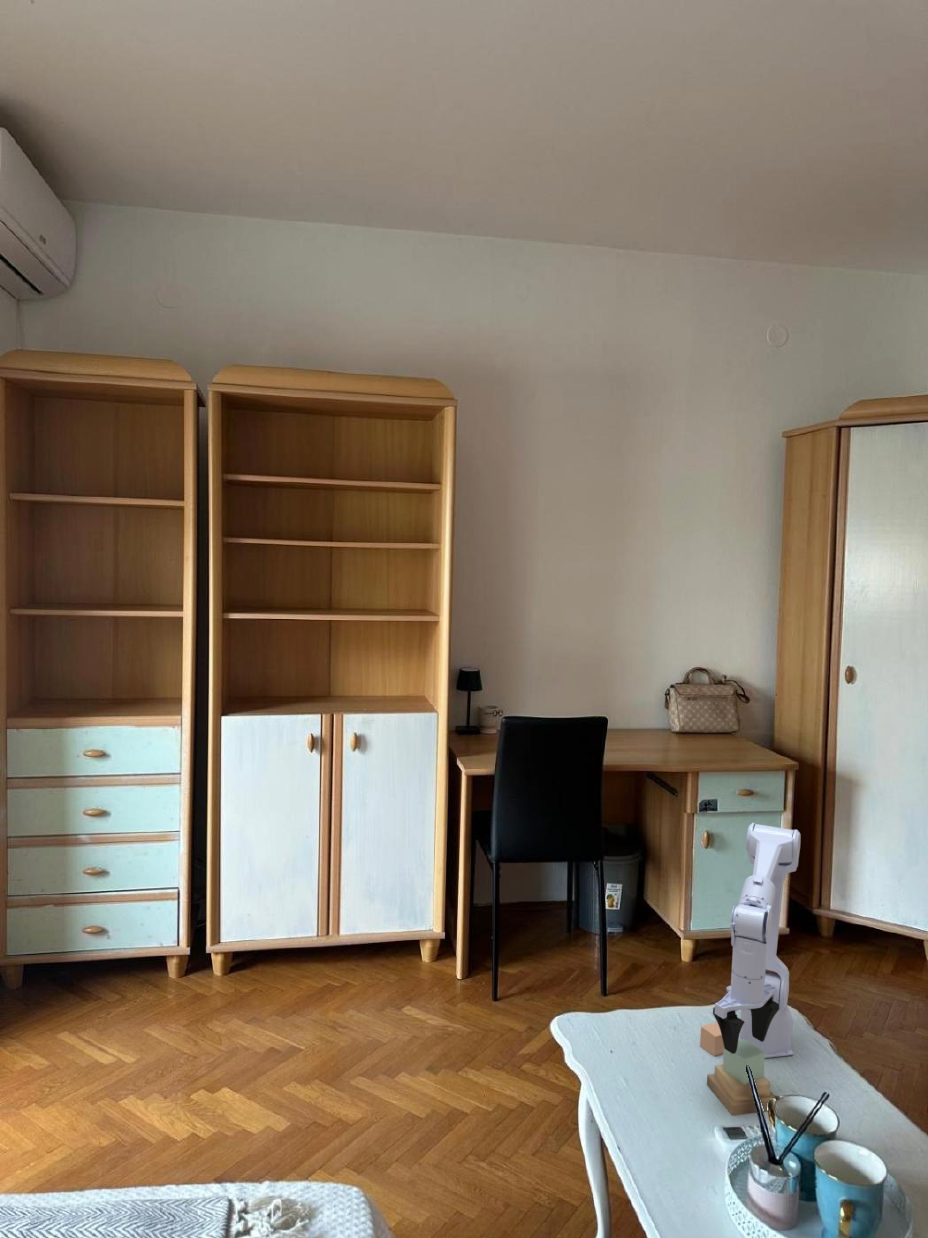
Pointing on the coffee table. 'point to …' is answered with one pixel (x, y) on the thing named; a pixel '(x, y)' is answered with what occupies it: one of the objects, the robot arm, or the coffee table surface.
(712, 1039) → the terracotta cube
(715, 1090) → the slab bottom
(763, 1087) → the slab top
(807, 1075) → the coffee table surface
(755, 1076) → the sage cube
